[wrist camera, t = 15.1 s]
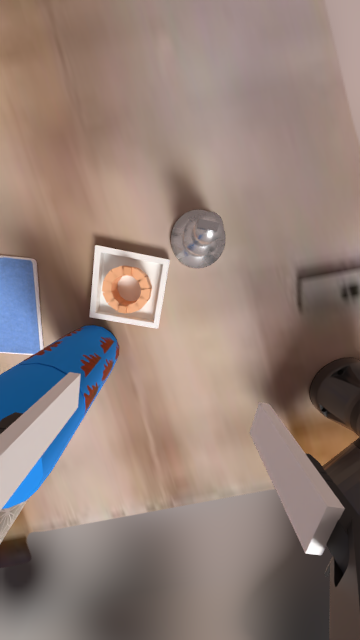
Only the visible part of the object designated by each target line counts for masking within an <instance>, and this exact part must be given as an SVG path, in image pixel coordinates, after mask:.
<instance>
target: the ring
mask: <svg viewBox="0 0 360 640" xmlns="http://www.w3.org/2000/svg"><path fill="white" fill-rule="evenodd" d="M126 275H127V276H132V277H133V278H134V279H136V280H137V281H138V282H139V285H140V287H141V294H140V297H139V299H138V300H136V301H127V300H125V299H124V298H122V297H121V296H120V294H119V292H118V290H117V288H118V282H119V281H120V279H121V278H122V277H123V276H126ZM147 276H148V275H147V274H146V273H144V272H143V271H142V270H141V269H139V268H136V267H131V266H124V265H123V266H119V267H117V268H114V269H111V270H110V271H109V272H108V274H107V275H106V276H105V278H104V280H103V286H102V291H103V296H104V298H105V300H106V302H107V303H108V305H109V306H111V307H112V308H113V309H115V310H116V311H117V310H118V312H120V313H125V314H126V313H133V312H135V311H138V310H140V309H142V307H143V306H144V305H145V304H146V303H147V301H148V300H149V299H150V297H151V292H152V287H151V286H152V284H151V282H150V279H149V276H148V277H147Z"/></svg>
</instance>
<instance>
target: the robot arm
mask: <svg viewBox="0 0 360 640" xmlns="http://www.w3.org/2000/svg"><path fill="white" fill-rule="evenodd" d="M80 376H81V374H78V373H72V372H69V373H68V374H67V375H66V376H65V377H64V378H63V379H61V380H60V381H59V382H58V383H57V384H56V385H55V386H54V387H53V388H51V389H50V390H49V391H48V392H47V393H46V394H45V395H44V396H42V397H41V398H40V399H39V400H38V401H37V402H36V403H35V404H34V405H32V406H31V407H30V408H29V409H28V410H27V411H26V412H25V413H17V412H15V413H13V414H11V415H9V416H7V417H5V418H3V419H2V420H0V511H1V509H2V508H3V507H4V505H5V504H6V503H7V501H8V500H9V499H10V497H11V496H12V495H13V493H14V492H15V491H16V489H17V488H18V487H19V485H20V484H21V483H22V481H23V480H24V479H25V477H26V476H27V475H28V473H29V472H30V471H31V469H32V468H33V467H34V465H35V464H36V463H37V461H38V460H39V459H40V457H41V456H42V455H43V453H44V452H45V451H46V449H47V448H48V447H49V445H50V444H51V443H52V441H53V440H54V439H55V437H56V436H57V435H58V433H59V432H60V431H61V429H62V428H63V427H64V425H65V424H66V423H67V421H68V420H69V419H70V417H71V416H72V415H73V413H74V412H75V411H76V409H77V408H78V400H79V388H80ZM310 398H311V401H312V403H313V405H314V406H315V408H316V409H317V410H319V411H320V412H321V413H322V414H323V415H324V416H325V417H327V418H329V419H331V420H333V421H335V422H337V423H339V424H341V425H343V426H344V427H346V428H348V429H350V430H352V431H354V432H355V433H356V434H357V435H358V436H359V438H358V439H357V440H356V441H354V442H353V443H351V444H350V445H349V446H348V447H347V448H345V449H344V450H343V451H342V452H340V453H339V454H338V455H336V456H335V457H334V458H333V459H331V460H330V461H329V462H327V463H326V464H325V465H323V466H321V464H320V463H319V462H318V461H317V460H316V459H315V458H313V457H312V456H311V455H310V454H305V453H304V451H303V450H302V449H301V447H300V446H299V444H298V443H297V442H296V440H295V439H294V437H293V436H292V435H291V433H290V432H289V431H288V429H287V428H286V426H285V425H284V424H283V422H282V421H281V419H280V418H279V417H278V415H277V414H276V413H275V411H274V410H273V408H272V407H271V406H270V404H268V403H261V402H259V405H258V408H257V411H256V414H255V417H254V421H253V424H252V427H251V430H250V435H251V437H252V439H253V442H254V444H255V446H256V448H257V450H258V452H259V454H260V457H261V459H262V461H263V463H264V465H265V467H266V470H267V472H268V474H269V476H270V478H271V480H272V483H273V485H274V487H275V489H276V491H277V493H278V495H279V498H280V500H281V502H282V504H283V506H284V508H285V511H286V513H287V515H288V517H289V519H290V521H291V524H292V526H293V528H294V530H295V532H296V534H297V537H298V538H299V540H300V543H301V545H302V547H303V549H304V551H305V553H307V554H316V555H322V554H323V552H324V550H325V548H326V546H328V548H329V550H330V552H331V554H332V555H333V556H332V558H331V560H330V562H329V564H328V566H327V568H326V570H325V574H324V575H325V576H326V577H328V575H329V573H330V622H329V623H330V625H329V640H360V360H359V359H355V358H343V359H339V360H336V361H333V362H331V363H330V364H328V365H326V366H325V367H324V368H323V369H321V370H320V371H319V373H318V374H317V375H316V376H315V378H314V380H313V382H312V384H311V388H310Z"/></svg>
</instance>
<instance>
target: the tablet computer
mask: <svg viewBox="0 0 360 640" xmlns="http://www.w3.org/2000/svg"><path fill="white" fill-rule="evenodd" d="M42 349H44V347H43V336H42V324H41V312H40V300H39V284H38V272H37V262H36V260H35V259H33V258H23V257H15V256H3V255H0V353H11V354H27V355H34V354H36V353H37V352H39V351H40V350H42Z"/></svg>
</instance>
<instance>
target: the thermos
mask: <svg viewBox="0 0 360 640" xmlns="http://www.w3.org/2000/svg"><path fill="white" fill-rule="evenodd" d="M118 356H119V345H118V342H117V340H116V338H115V337H114V336H113V334H112V333H111V332H110V331H108V330H106V329H105V328H103V327H99V326H95V325H90V326H84V327H81V328H79V329H77V330H75V331H73V332H71V333H69V334H67V335H65V336H64V337H62V338H60V339H59V340H57V341H55V342H54V343H52V344H50V345H49V346H47V347H45V348H44V349H42V350H40V351H39V352H37V353H36V354H34V355H32V356H31V357H29V358H27V359H26V360H24V361H22V362H21V363H19V364H17V365H16V366H14V367H12V368H11V369H9V370H7V371H6V372H4V373H3V374H1V375H0V420H2V419H3V418H5V417H7V416H9V415H11V414H13V413H15V412H17V413H25V412H26V411H27V410H28V409H29V408H30V407H31V406H32V405H34V404H35V403H36V402H37V401H38V400H39V399H40V398H41V397H42V396H44V395H45V394H46V393H47V392H48V391H49V390H50V389H51V388H53V387H54V386H55V385H56V384H57V383H58V382H59V381H60V380H61V379H63V378H64V377H65V376H66V375H67V374H68V373H69V372H72V373H78V374H81V376H80V388H79V400H78V408H77V409H76V411H75V412H74V413H73V415H72V416H71V417H70V419H69V420H68V421H67V423H66V424H65V425H64V427H63V428H62V429H61V431H60V432H59V433H58V435H57V436H56V437H55V439H54V440H53V441H52V443H51V444H50V445H49V447H48V448H47V449H46V451H45V452H44V453H43V455H42V456H41V457H40V459H39V460H38V461H37V463H36V464H35V465H34V467H33V468H32V469H31V471H30V472H29V473H28V475H27V476H26V477H25V479H24V480H23V481H22V483H21V484H20V485H19V487H18V488H17V489H16V491H15V492H14V493H13V495H12V496H11V497H10V499H9V500H8V501H7V503H6V504H5V505H4V507H3V508H2V509H5V508H10V507H12V506H15V505H17V504H20V503H22V502H24V501H26V500H27V499H28V498H29V497H30V496H31V495H32V494H34V493H35V492H36V491H37V490H38V488H39V487H40V486H41V484H42V483H43V482H44V480H45V479H46V478H47V476H48V475H49V474H50V472H51V471H52V469H53V468H54V466H55V464H56V463H57V461H58V459H59V458H60V456H61V454H62V453H63V451H64V449H65V448H66V446H67V444H68V443H69V441H70V439H71V438H72V436H73V434H74V433H75V431H76V429H77V428H78V426H79V424H80V423H81V421H82V419H83V418H84V416H85V414H86V413H87V411H88V409H89V408H90V406H91V404H92V403H93V401H94V399H95V398H96V396H97V394H98V393H99V391H100V389H101V388H102V386H103V384H104V383H105V381H106V379H107V378H108V376H109V374H110V373H111V371H112V369H113V367H114V365H115V363H116V360H117V358H118Z"/></svg>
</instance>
